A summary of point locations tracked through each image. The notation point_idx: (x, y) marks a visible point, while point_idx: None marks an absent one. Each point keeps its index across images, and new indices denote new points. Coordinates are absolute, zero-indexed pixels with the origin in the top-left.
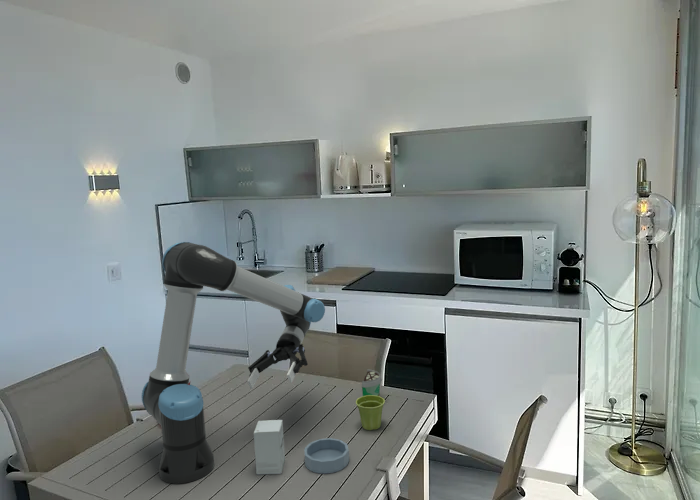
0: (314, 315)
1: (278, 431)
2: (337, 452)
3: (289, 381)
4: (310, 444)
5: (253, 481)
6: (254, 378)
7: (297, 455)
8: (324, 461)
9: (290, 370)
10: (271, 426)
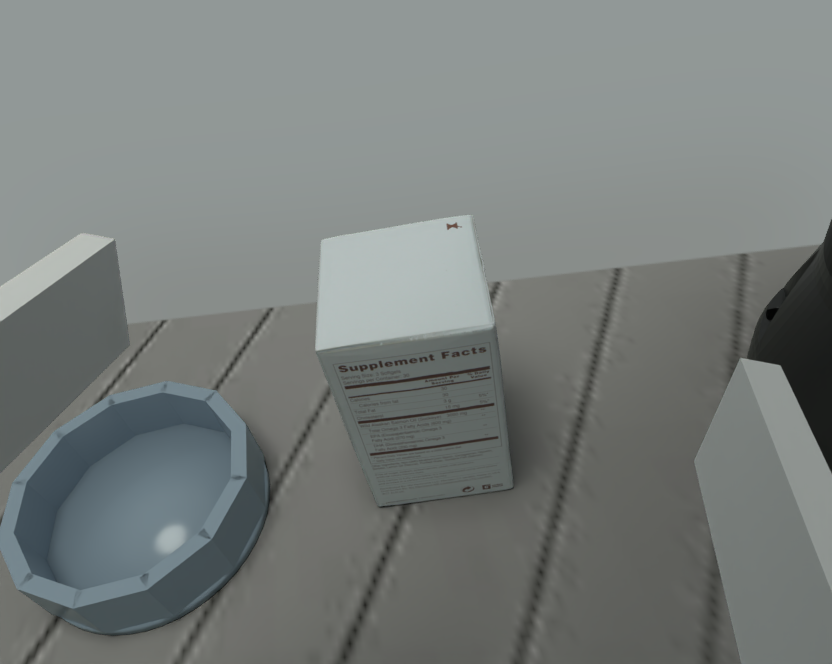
0: None
1: (324, 239)
2: (81, 576)
3: (127, 333)
4: (207, 523)
5: None
6: (748, 526)
7: (312, 558)
8: (155, 384)
9: (21, 279)
10: (375, 269)
